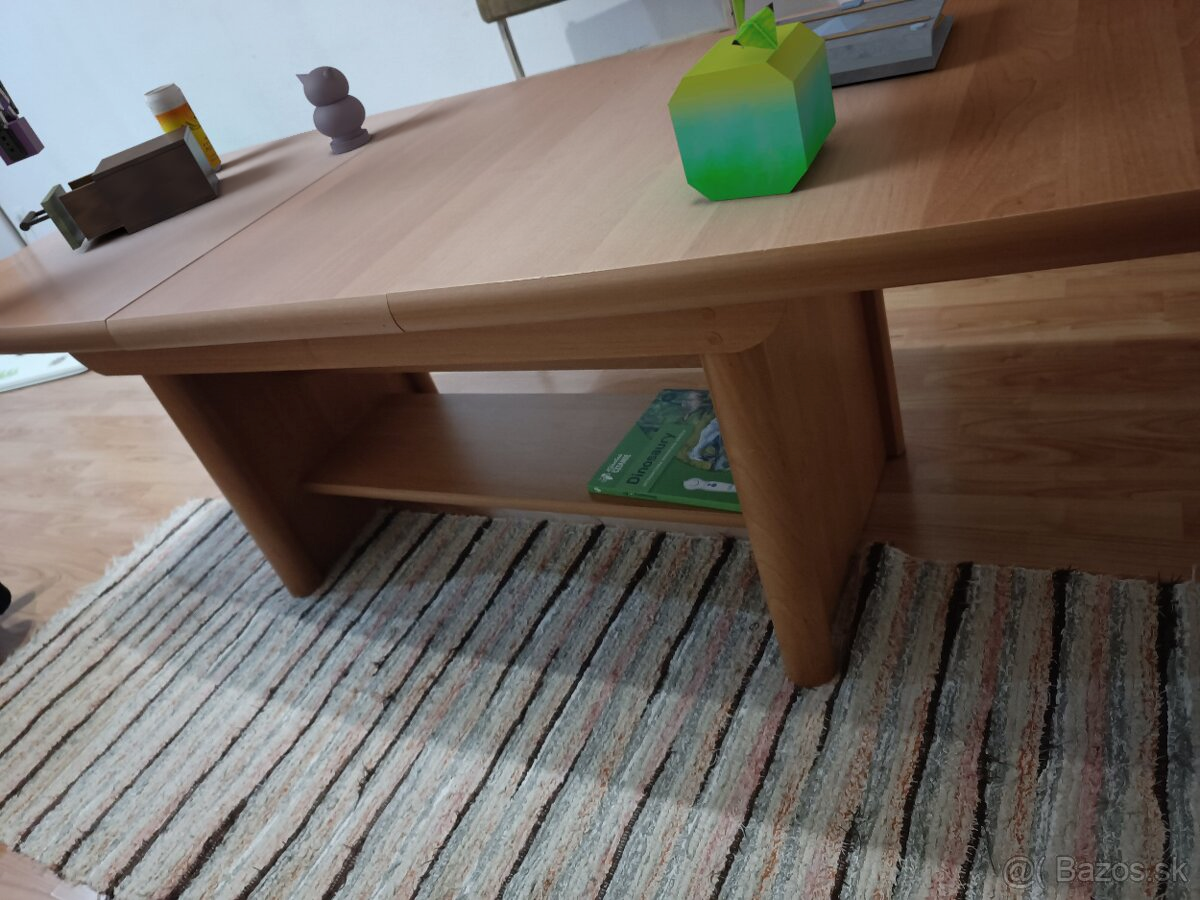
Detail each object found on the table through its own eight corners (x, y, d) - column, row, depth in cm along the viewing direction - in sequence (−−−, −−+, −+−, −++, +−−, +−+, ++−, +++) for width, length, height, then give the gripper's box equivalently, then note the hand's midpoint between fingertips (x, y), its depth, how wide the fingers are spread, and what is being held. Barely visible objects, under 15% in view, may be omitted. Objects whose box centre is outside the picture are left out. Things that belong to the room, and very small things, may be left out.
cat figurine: (386, 131, 138) (352, 53, 131) (356, 152, 133) (319, 72, 126) (349, 137, 143) (314, 63, 136) (318, 158, 138) (280, 81, 131)
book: (730, 110, 95) (720, 63, 92) (770, 58, 106) (763, 15, 103) (933, 76, 85) (929, 22, 82) (954, 22, 96) (952, -27, 93)
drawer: (40, 264, 134) (5, 217, 129) (53, 243, 143) (21, 199, 139) (156, 215, 136) (126, 168, 132) (161, 198, 145) (133, 153, 141)
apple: (692, 203, 78) (648, 28, 69) (727, 157, 84) (691, -9, 76) (810, 190, 72) (779, -1, 64) (839, 142, 79) (814, -38, 70)
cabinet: (129, 234, 135) (90, 176, 130) (136, 214, 146) (101, 159, 140) (217, 197, 137) (183, 138, 132) (219, 180, 148) (187, 124, 142)
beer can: (226, 168, 153) (177, 82, 145) (193, 182, 152) (142, 97, 143) (221, 163, 158) (174, 80, 150) (189, 177, 157) (140, 94, 148)
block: (7, 166, 117) (-16, 134, 115) (14, 159, 121) (-8, 128, 118) (38, 153, 118) (16, 121, 115) (45, 147, 121) (23, 116, 119)
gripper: (-78, 30, 115) (10, 155, 125) (-115, 41, 103) (-15, 177, 113) (-23, 10, 116) (60, 135, 125) (-53, 17, 104) (41, 155, 114)
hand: (24, 154), depth 119 cm, fingers closed on block, 4 cm apart
